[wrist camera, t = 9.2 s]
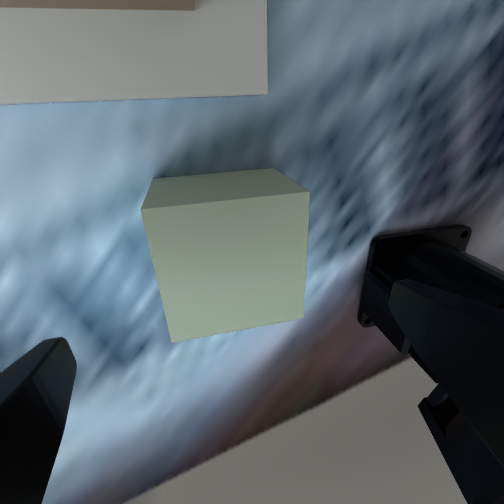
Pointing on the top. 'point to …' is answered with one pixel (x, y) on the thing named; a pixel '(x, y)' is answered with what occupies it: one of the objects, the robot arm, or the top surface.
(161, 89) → the baseplate
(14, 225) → the top surface
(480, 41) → the top surface
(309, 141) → the top surface
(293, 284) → the sage brick
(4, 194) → the top surface
